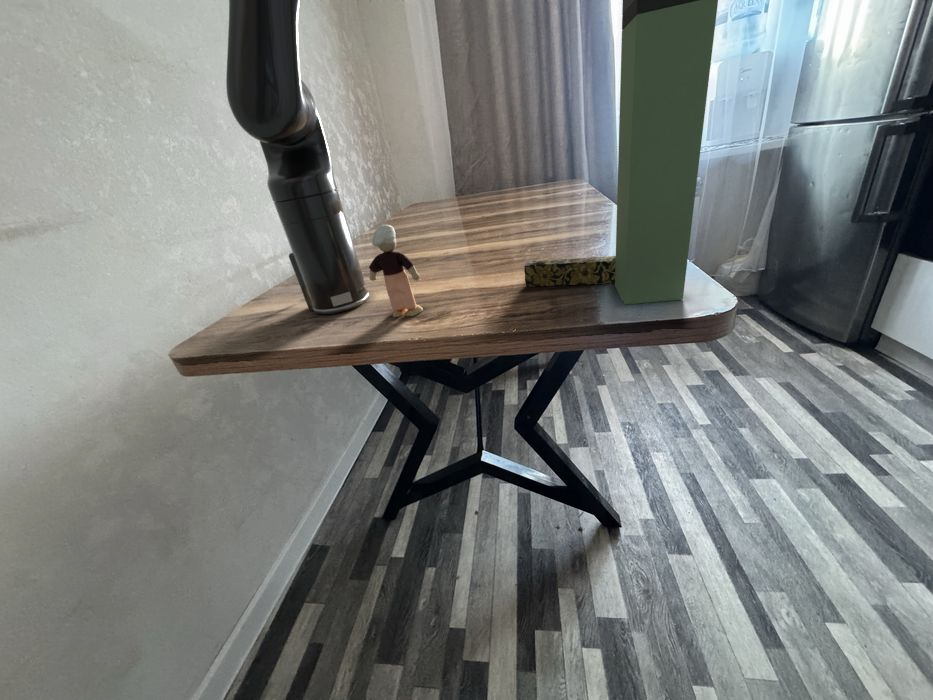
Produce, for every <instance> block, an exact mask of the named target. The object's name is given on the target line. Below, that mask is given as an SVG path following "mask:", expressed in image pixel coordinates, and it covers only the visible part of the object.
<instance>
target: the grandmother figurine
mask: <svg viewBox="0 0 933 700" xmlns="http://www.w3.org/2000/svg"><path fill="white" fill-rule="evenodd" d="M396 235H397V233H396V231H395V228H394V226H392V225H390V224H381V225H379V226H378V227H377V228H376V229H375V231H374V232H373V235H372V242H371V244H372V245H373V246H374V247H377V248H378V249H379V250H380V251H381V253H379V254H377V255H375V257H374V259H373V260H371V263H370V265H368V268H369V277H368V278H369V280H370V281H373V282H374V281H376V280H377V275H378V273H380V272H381V271H382V273H383V280H384V283H385V288H386V292H387V296H388V299H389V301H390V306H391V308H392V310H393V313H392V317H393V318H400V317H402V316H404V315H405V316H406V317H414V316H416V315H418V314H420V313H422V312H423V311H424V309H423V307H422V306H421V305H419V304H417V302H416V298H415V296H414V293H413V289H412V286H411V282H410V279H409V277H408V274H407V272H406V271H408V273H409V275H411V278H412V280H414V281H418V280H419V279H420V274H419V273H418V271H417V269H416V267H415V264H414V263H413V262H412V261H411V260H410V258H409V257H408V256H407V255H406V254H404V253H403V252H400V251H396V250H395V249H396V247H397V236H396ZM405 313H406V314H405Z"/></svg>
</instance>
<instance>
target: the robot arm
mask: <svg viewBox="0 0 933 700" xmlns="http://www.w3.org/2000/svg"><path fill="white" fill-rule="evenodd" d="M301 3H302V0H228V32H227V34H228V35H227V53H226V55H227V56H226V76H225V77H226V78H225V83H226V84H225V86H226V87H225V89H226V97H227V102H228V105H229V108H230V111H231V113H232V115H233V117H234V119H235V121H236V122H237V123H238V125H239V126H240V127H241V128H242V130H243V131H244V132H246V133H247V134H248V135H249V136H250V137H252V138H253V139H255V140H257V141H259V144H260V148H261V149H262V153H263V156H264V158H265V162H266V166H267V173H268V174H267V176H268V177H267V183H266V184H267V188H268V189H267V190H268V191H269V192H268V193H269V194H270V197H271V200H272V202H273V204H274V207H275V211H276V213H277V215H278V218H279V221H280V224H281V226H282V228H283V231H284V234H285V236H286V240H287V242H288V245H289V247H290V249H291V252H289V254H288V258H289V261H290V263H291V267H292V269H293V272H294V274H295V277H296V280H297V282H298V285H299V287H300V291H301V293H302V294H303V297H304V300H305V303H306V305H307V309H308V311H311V312H314V313H315V314H318V315H333V314H339V313H342V312H346V311H349V310H352V309H354V308H357V307H359V306H361V305H363V304H364V303H366V302H367V301H368V300H369V298H370V293H369V290H368V288H367V284H366V281H365V278H364V274H363V271H362V268H361V264H360V262H359V261H360V260H359V258H358V254H357V251H356V247H355V245H354V244H355V243H354V241H353V237H352V234H351V231H350V227H349V224H348V221H347V218H346V214H345V210H344V207H343V204H342V201H341V197H340V195H339V190H338V187H337V183H336V179H335V175H334V166H333V161H332V157H331V153H330V150H329V145H328V143H327V142H328V141H327V139H326V135H325V131H324V128H323V124H322V121H321V116H320V113H319V110H318V106H317V104H316V101H315V99H314V96H313V94H312V92H311V90H310V89H309V88H308V86H307V85H306V83H305V82H304V81H303V80H302V78H301V67H300V66H301V65H300V52H299V51H300V49H299V19H300V18H299V16H300V15H299V14H300V10H301Z"/></svg>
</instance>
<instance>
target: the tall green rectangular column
mask: <svg viewBox="0 0 933 700" xmlns="http://www.w3.org/2000/svg"><path fill="white" fill-rule="evenodd" d="M718 5H719V0H622V7H621V9H622V10H621V12H622V13H621V15H622V17H621V45H620V47H621V51H620V82H619V83H620V84H619V85H620V86H619V87H620V88H619V117H618V118H619V120H618V121H619V123H618V156H617V157H618V158H617V160H618V161H617V189H616V192H617V195H616V200H617V201H616V228H615V230H616V231H615V233H616V234H615V256H616V263H615V283H614V287H615V289H616V291H617V292H618V295H619V296H620V298H621V300H622V303H623V304H624V305H635V304H647V303H648V304H649V303H658V302H659V303H661V302H671V301H672V302H673V301H681V300H684V294H685V285H686V277H687V270H688V269H687V267H688V259H689V252H690V251H689V250H690V241H691V235H692V234H691V233H692V226H693V216H694V208H695V200H696V191H697V182H698V176H699V167H700V158H701V148H702V142H703V141H702V140H703V131H704V124H705V115H706V107H707V100H708V99H707V98H708V89H709V81H710V73H711V66H712V58H713V57H712V56H713V48H714V47H713V46H714V41H715V40H714V39H715V31H716V22H717V13H718Z"/></svg>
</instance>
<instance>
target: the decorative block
mask: <svg viewBox="0 0 933 700" xmlns="http://www.w3.org/2000/svg"><path fill="white" fill-rule="evenodd" d="M615 263H616V255H608V256H596V257H594V256H591V257H579V258H561V259H546V260H544V259H542V260H529V261H526V262H525V264H524V266H523V267H524V269H523V272H524V283H525V286H526V287H529V288H531V287H532V288H535V287H541V288H542V287H544V286H545V287H554V286H556V287H557V286H565V287H566V286H575V285H588V286H589V285H592V284H595V285H605V284H610V285H611V284H615Z"/></svg>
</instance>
